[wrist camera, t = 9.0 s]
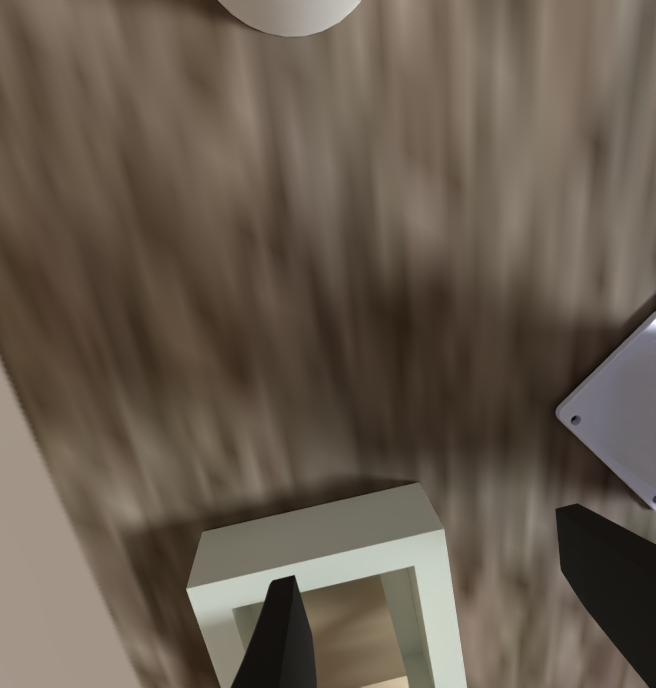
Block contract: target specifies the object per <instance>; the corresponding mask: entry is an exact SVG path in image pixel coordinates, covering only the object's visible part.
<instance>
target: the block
mask: <svg viewBox="0 0 656 688" xmlns="http://www.w3.org/2000/svg"><path fill="white" fill-rule="evenodd" d="M300 594H301V598H302V601H303V604H304V608H305V611H306V615H307V618H308V621H309V625H310V628H311V632H312V637H313V646H314V655H315V665H316V675H317V688H409V684H408V679H407V675H406V671H405V667H404V664H403V660H402V656H401V652H400V649H399V645H398V641H397V638H396V634H395V630H394V627H393V623H392V619H391V615H390V612H389V608H388V604H387V601H386V597H385V593H384V589H383V586H382V582H381V578H380V575H379V574H377V575H372V576H368V577H364V578H360V579H355V580H351V581H347V582H343V583H339V584H334V585H330V586H326V587H322V588H317V589H313V590H309V591H305V592H300Z"/></svg>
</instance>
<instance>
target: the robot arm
mask: <svg viewBox="0 0 656 688" xmlns="http://www.w3.org/2000/svg"><path fill="white" fill-rule="evenodd" d="M555 413H556V417H557V418H558V419H559V420H560V421H561V422H562V423H563V424H564V425H565V426H566V427H567V428H568V429H569V430H570V431H571V432H572V433H573V434H574V435H575V436H576V437H578V438H579V439H580V440H581V441H582V442H583V443H584V444H585V445H586V446H587V447H588V448H589V449H590V450H591V451H592V452H593V453H594V454H595V455H596V456H597V457H598V458H600V459H601V460H602V461H603V462H604V463H605V464H606V465H607V466H608V467H609V468H610V469H611V470H612V471H613V472H614V473H615V474H616V475H617V476H618V477H619V478H620V479H622V480H623V481H624V482H625V483H626V484H627V485H628V486H629V487H630V488H631V489H632V490H633V491H634V492H635V493H636V494H637V495H638V496H639V497H640V498H641V499H642V500H644V501H645V502H646V503H647V504H648V505H649V506H650V507H651V508H652V509H653V510H654V511H655V512H656V311H655V312H654V313H653V314H652V315H651V316H650V317H649V318H648V319H647V320H646V321H645V322H644V323H643V324H642V325H641V326H639V327H638V328H637V329H636V330H635V331H634V332H633V333H632V334H631V335H630V336H629V337H628V338H627V339H626V340H625V341H624V342H623V343H622V344H621V345H620V346H619V347H618V348H617V349H616V350H615V351H614V352H613V353H612V354H611V355H610V356H609V357H608V358H607V359H606V360H605V361H604V362H603V363H602V364H601V365H600V366H599V367H598V368H597V369H595V370H594V371H593V372H592V373H591V374H590V375H589V376H588V377H587V378H586V379H585V380H584V381H583V382H582V383H581V384H580V385H579V386H578V387H577V388H576V389H575V390H574V391H573V392H572V393H571V394H570V395H569V396H568V397H567V398H566V399H565V400H564V401H563V402H562V403H561V404H560V405H559V406H558V407H557V409H556V412H555ZM575 415H576V418H575V420H574V421H572V422H571V419H572V417H574V416H575ZM654 496H655V497H654ZM556 520H557V531H558V543H559V554H560V566H561V571H562V573H563V574H564V576H565V577H566V579H567V581H568V582H569V584H570V585H571V587H572V589H573V590H574V592H575V593H576V595H577V596H578V598H579V599H580V601H581V602H582V604H583V605H584V607H585V608H586V610H587V611H588V612H589V613H590V615H591V616H592V617H593V618H594V620H595V621H596V622H597V623H598V625H599V626H600V627H601V628H602V630H603V631H604V632H605V633H606V635H607V636H608V637H609V638H610V640H611V641H612V642H613V643H614V645H615V646H616V647H617V648H618V650H619V651H620V652H621V653H622V655H623V656H624V657H625V658H626V659H627V661H628V662H629V663H630V664H631V666H632V667H633V668H634V669H635V671H636V672H637V673H638V674H639V675H640V677H641V678H642V679H643V680H644V682H645V683H646V684H647V685H648V687H649V688H656V544H654V543H652V542H650V541H648V540H646V539H644V538H642V537H640V536H638V535H637V534H635V533H633V532H631V531H629V530H627V529H625V528H623V527H621V526H620V525H618V524H616V523H614V522H612V521H610V520H608V519H606V518H604V517H603V516H601V515H599V514H597V513H595V512H593V511H591V510H589V509H587V508H585V507H583V506H581V505H579V504H573V505H569V506H565V507H561V508H557V509H556ZM231 688H317V675H316V665H315V655H314V646H313V637H312V632H311V628H310V625H309V621H308V618H307V615H306V611H305V608H304V604H303V601H302V598H301V594H300V591H299V587H298V584H297V581H296V577H295V575H292V576H288V577H284V578H280V579H276V580H272V582H271V583H270V585H269V587H268V591H267V594H266V597H265V601H264V604H263V607H262V610H261V613H260V616H259V618H258V621H257V624H256V627H255V630H254V632H253V635H252V637H251V640H250V643H249V645H248V648H247V650H246V653H245V655H244V658H243V660H242V663H241V665H240V667H239V670H238V672H237V674H236V676H235V679H234V681H233V683H232V685H231Z"/></svg>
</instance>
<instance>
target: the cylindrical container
mask: <svg viewBox="0 0 656 688" xmlns="http://www.w3.org/2000/svg"><path fill="white" fill-rule="evenodd" d="M218 1H219V2H220V3H221V4H222V5H223V6H224V7H225V8H226V9H227V10H228V11H229V12H230V13H231V14H232V15H234V16H235V17H237V18H238V19H239V20H241V21H242V22H244V23H245V24H247V25H249V26H251V27H253V28H255V29H258V30H260V31H262V32H265V33H268V34H273V35H278V36H283V37H295V36H307V35H311V34H314V33H318V32H321V31H324V30H326V29H328V28H330V27H331V26H333V25H335V24H337V23H339V22H340V21H342V20H343V19H344V18H345V17H346V16H347V15H348V14H349V13H351V12H352V11H353V10H354V9H355V8H356V7H357V5H358V4H359V3H360V1H361V0H218Z"/></svg>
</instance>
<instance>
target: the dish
mask: <svg viewBox="0 0 656 688" xmlns="http://www.w3.org/2000/svg"><path fill="white" fill-rule="evenodd" d="M377 574H379V575H380V578H381V582H382V586H383V589H384V593H385V597H386V601H387V604H388V608H389V612H390V615H391V619H392V623H393V627H394V630H395V634H396V638H397V641H398V645H399V649H400V652H401V656H402V660H403V664H404V667H405V671H406V675H407V679H408V684H409V688H467V685H466V678H465V671H464V664H463V657H462V650H461V643H460V636H459V630H458V623H457V616H456V609H455V602H454V595H453V588H452V581H451V574H450V567H449V561H448V554H447V547H446V540H445V533H444V528H443V526H442V524H441V522H440V520H439V518H438V517H437V515H436V513H435V511H434V509H433V507H432V505H431V503H430V501H429V500H428V498H427V496H426V494H425V492H424V490H423V488H422V486H421V484H420V482H418V483H414V484H409V485H405V486H400V487H396V488H392V489H387V490H383V491H379V492H374V493H370V494H366V495H361V496H357V497H352V498H348V499H344V500H339V501H335V502H331V503H326V504H322V505H318V506H313V507H309V508H304V509H300V510H296V511H291V512H287V513H283V514H278V515H274V516H270V517H265V518H261V519H256V520H252V521H248V522H243V523H239V524H235V525H230V526H226V527H222V528H217V529H213V530H208V531H204V532H202V534H201V538H200V541H199V545H198V548H197V552H196V556H195V559H194V563H193V566H192V570H191V573H190V577H189V581H188V584H187V588H186V590H187V593H188V596H189V599H190V601H191V604H192V607H193V610H194V613H195V616H196V618H197V621H198V624H199V627H200V630H201V633H202V635H203V638H204V641H205V644H206V647H207V650H208V652H209V655H210V658H211V661H212V664H213V667H214V669H215V672H216V675H217V678H218V681H219V684H220V686H221V688H231V685H232V683H233V681H234V679H235V676H236V674H237V672H238V670H239V667H240V665H241V663H242V660H243V658H244V655H245V653H246V650H247V648H248V645H249V643H250V640H251V637H252V635H253V632H254V630H255V627H256V624H257V621H258V618H259V616H260V613H261V610H262V607H263V604H264V601H265V597H266V594H267V591H268V587H269V585H270V583H271V582H272V580H276V579H280V578H284V577H288V576H292V575H295V577H296V581H297V584H298V587H299V591H300V592H305V591H309V590H313V589H317V588H322V587H326V586H330V585H334V584H339V583H343V582H347V581H351V580H355V579H360V578H364V577H368V576H372V575H377Z"/></svg>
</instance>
